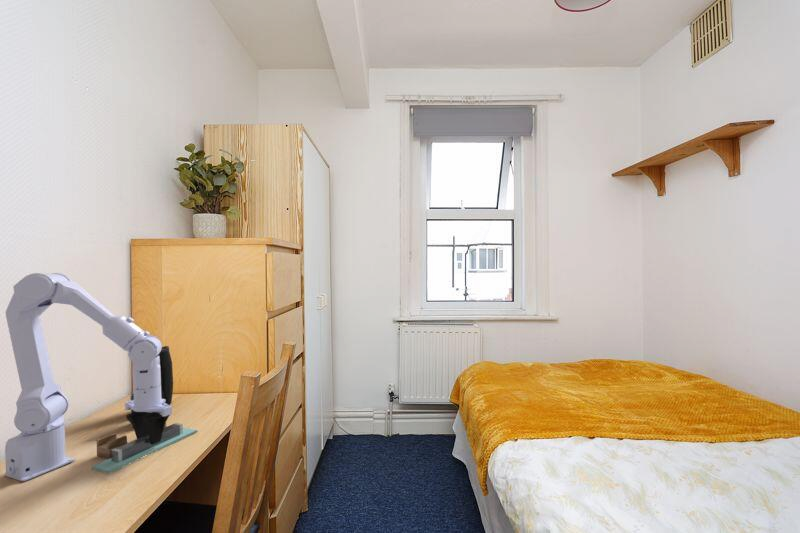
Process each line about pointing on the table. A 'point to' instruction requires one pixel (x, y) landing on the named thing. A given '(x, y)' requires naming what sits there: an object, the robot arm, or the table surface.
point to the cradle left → (109, 445)
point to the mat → (111, 466)
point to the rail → (144, 443)
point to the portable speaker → (166, 375)
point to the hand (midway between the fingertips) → (149, 441)
